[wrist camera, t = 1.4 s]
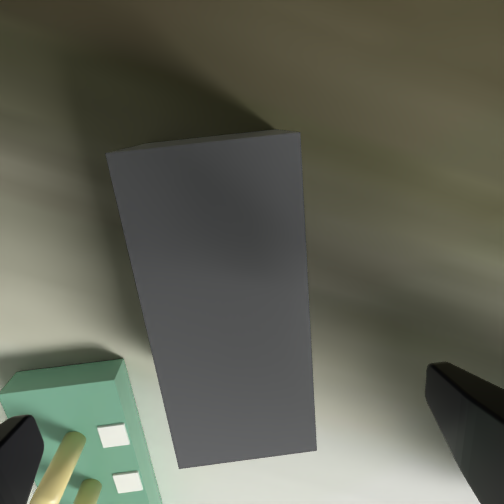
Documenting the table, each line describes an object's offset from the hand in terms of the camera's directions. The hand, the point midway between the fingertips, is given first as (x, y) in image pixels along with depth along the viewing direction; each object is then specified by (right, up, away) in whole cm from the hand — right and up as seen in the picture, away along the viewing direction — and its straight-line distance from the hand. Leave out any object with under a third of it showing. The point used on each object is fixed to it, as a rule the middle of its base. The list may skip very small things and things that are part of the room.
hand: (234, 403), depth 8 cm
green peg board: (-8, -7, +11) cm, 15 cm away
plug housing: (-1, +3, +8) cm, 8 cm away
